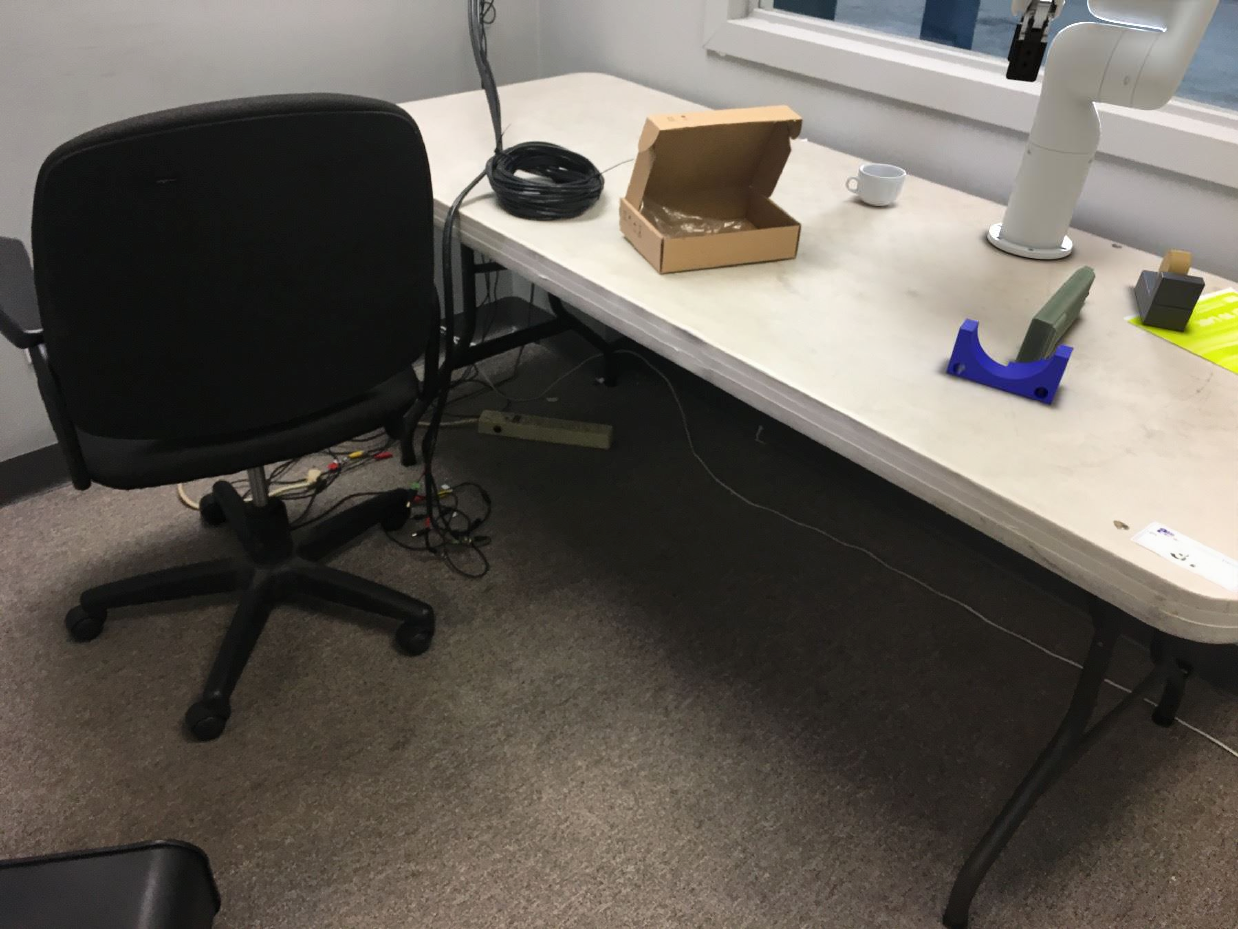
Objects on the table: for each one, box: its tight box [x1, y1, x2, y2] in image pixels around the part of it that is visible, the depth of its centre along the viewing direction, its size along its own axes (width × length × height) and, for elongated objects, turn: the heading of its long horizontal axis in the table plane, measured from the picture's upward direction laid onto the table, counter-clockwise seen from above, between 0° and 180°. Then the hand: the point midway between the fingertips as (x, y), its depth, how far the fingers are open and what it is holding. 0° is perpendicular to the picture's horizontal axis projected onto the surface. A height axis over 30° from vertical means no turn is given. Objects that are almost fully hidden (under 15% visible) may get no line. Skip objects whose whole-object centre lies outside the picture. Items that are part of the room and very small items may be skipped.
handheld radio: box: [1014, 265, 1096, 363], centre depth 111 cm, size 7×3×25 cm
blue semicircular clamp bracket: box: [945, 318, 1075, 405], centre depth 101 cm, size 12×4×6 cm, turn 58°
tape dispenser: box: [1134, 249, 1206, 332], centre depth 118 cm, size 12×5×8 cm, turn 159°
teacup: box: [845, 163, 907, 207], centre depth 149 cm, size 10×8×5 cm
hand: (1020, 70), depth 99 cm, fingers open, 9 cm apart
